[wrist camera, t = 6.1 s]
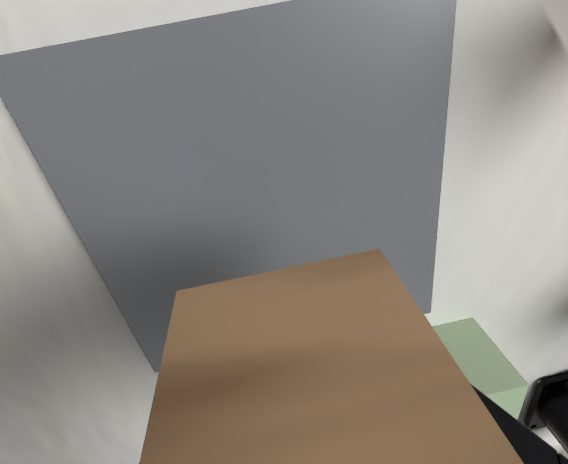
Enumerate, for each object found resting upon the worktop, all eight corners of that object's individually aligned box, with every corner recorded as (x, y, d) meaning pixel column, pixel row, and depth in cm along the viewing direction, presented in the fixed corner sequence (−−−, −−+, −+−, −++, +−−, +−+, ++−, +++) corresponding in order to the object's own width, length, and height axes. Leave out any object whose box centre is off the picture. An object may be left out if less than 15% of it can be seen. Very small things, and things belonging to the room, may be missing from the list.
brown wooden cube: (381, 376, 11) (476, 597, 7) (227, 411, 11) (224, 658, 7) (379, 248, 8) (530, 474, 4) (176, 290, 8) (116, 570, 4)
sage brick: (463, 366, 25) (511, 436, 21) (396, 381, 25) (430, 455, 20) (472, 316, 22) (529, 385, 18) (396, 333, 22) (436, 406, 18)
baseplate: (422, 300, 21) (430, 312, 20) (158, 357, 20) (155, 372, 19) (443, -28, 12) (458, -31, 12) (-3, 57, 12) (-21, 58, 11)
